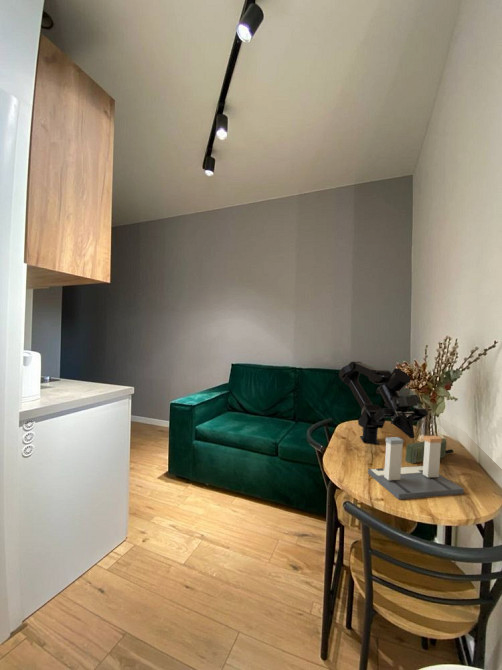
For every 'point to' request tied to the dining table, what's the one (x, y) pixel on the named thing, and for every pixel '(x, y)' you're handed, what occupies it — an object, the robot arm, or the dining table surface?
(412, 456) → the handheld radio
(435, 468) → the lever
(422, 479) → the switch bank
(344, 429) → the dining table surface
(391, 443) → the lever
